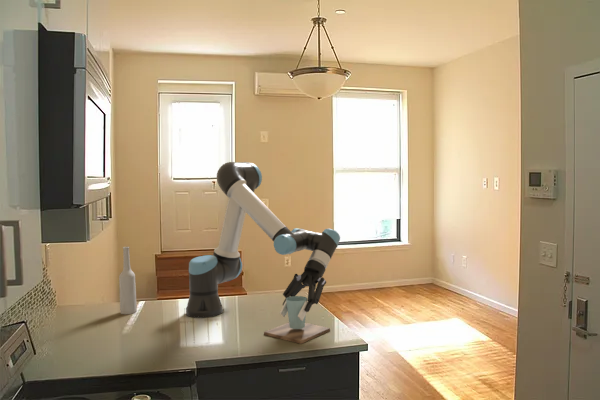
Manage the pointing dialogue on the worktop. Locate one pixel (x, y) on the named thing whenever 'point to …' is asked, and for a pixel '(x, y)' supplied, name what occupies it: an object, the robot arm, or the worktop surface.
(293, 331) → the board
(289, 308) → the cup
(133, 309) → the bottle
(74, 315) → the worktop surface
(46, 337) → the worktop surface
